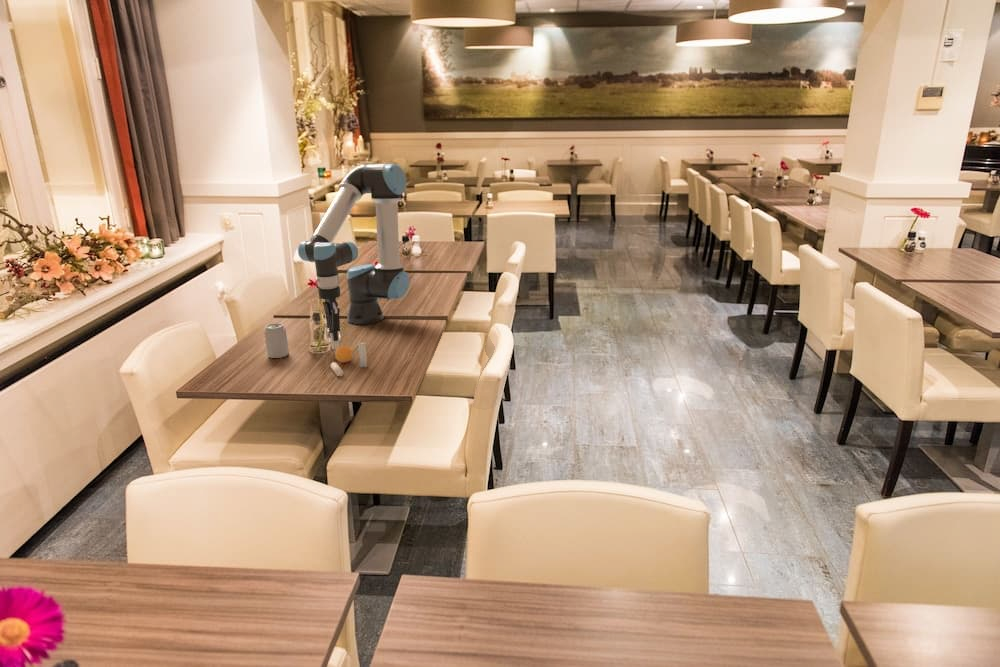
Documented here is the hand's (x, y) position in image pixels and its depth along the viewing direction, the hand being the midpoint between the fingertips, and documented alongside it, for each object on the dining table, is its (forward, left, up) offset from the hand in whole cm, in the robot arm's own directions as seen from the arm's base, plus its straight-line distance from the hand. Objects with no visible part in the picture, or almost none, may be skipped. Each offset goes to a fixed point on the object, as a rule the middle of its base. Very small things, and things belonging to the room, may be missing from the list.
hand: (335, 347), depth 248 cm
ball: (+11, 0, +1) cm, 11 cm away
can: (-9, -19, -2) cm, 21 cm away
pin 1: (+15, -5, -1) cm, 16 cm away
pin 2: (+19, +4, -2) cm, 20 cm away
